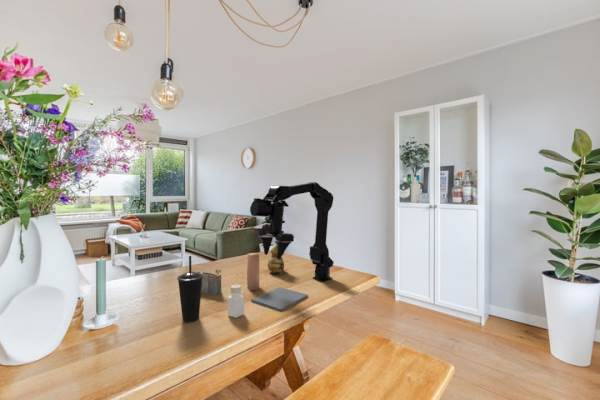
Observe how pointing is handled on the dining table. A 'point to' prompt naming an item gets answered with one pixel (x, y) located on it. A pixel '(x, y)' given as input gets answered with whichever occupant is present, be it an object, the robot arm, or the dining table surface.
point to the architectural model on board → (211, 283)
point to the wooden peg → (253, 271)
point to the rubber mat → (279, 298)
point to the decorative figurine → (275, 262)
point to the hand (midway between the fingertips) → (272, 256)
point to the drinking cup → (190, 294)
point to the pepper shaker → (235, 302)
